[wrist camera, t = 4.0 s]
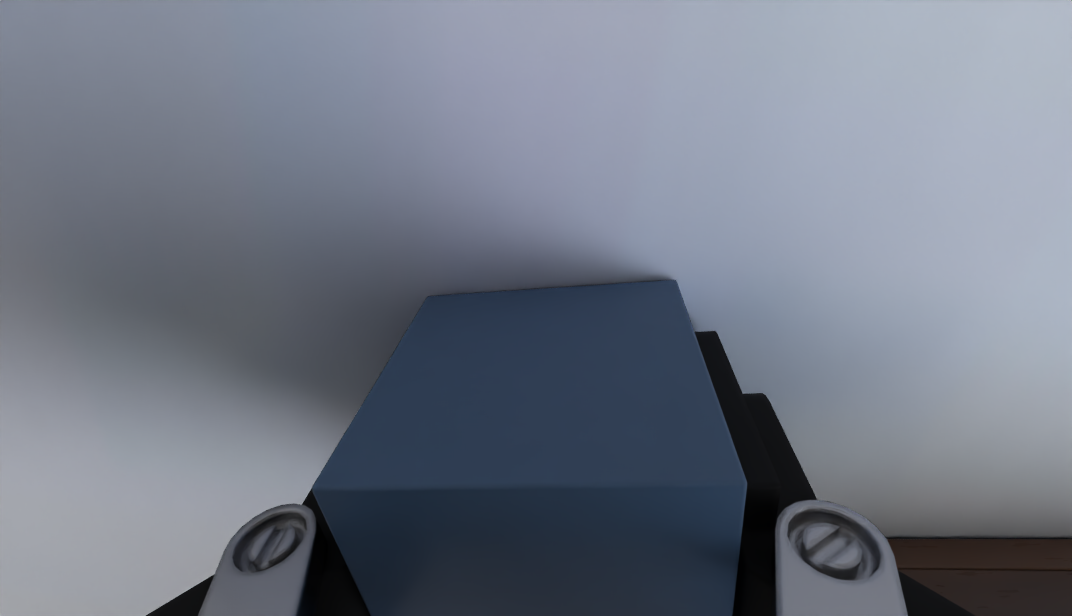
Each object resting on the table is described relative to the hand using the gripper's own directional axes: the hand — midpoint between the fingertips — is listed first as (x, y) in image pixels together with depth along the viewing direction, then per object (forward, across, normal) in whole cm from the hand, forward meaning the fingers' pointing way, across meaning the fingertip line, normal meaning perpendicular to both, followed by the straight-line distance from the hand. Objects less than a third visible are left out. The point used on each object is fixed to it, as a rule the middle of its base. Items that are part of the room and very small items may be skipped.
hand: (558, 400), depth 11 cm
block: (0, 0, 0) cm, 0 cm away
